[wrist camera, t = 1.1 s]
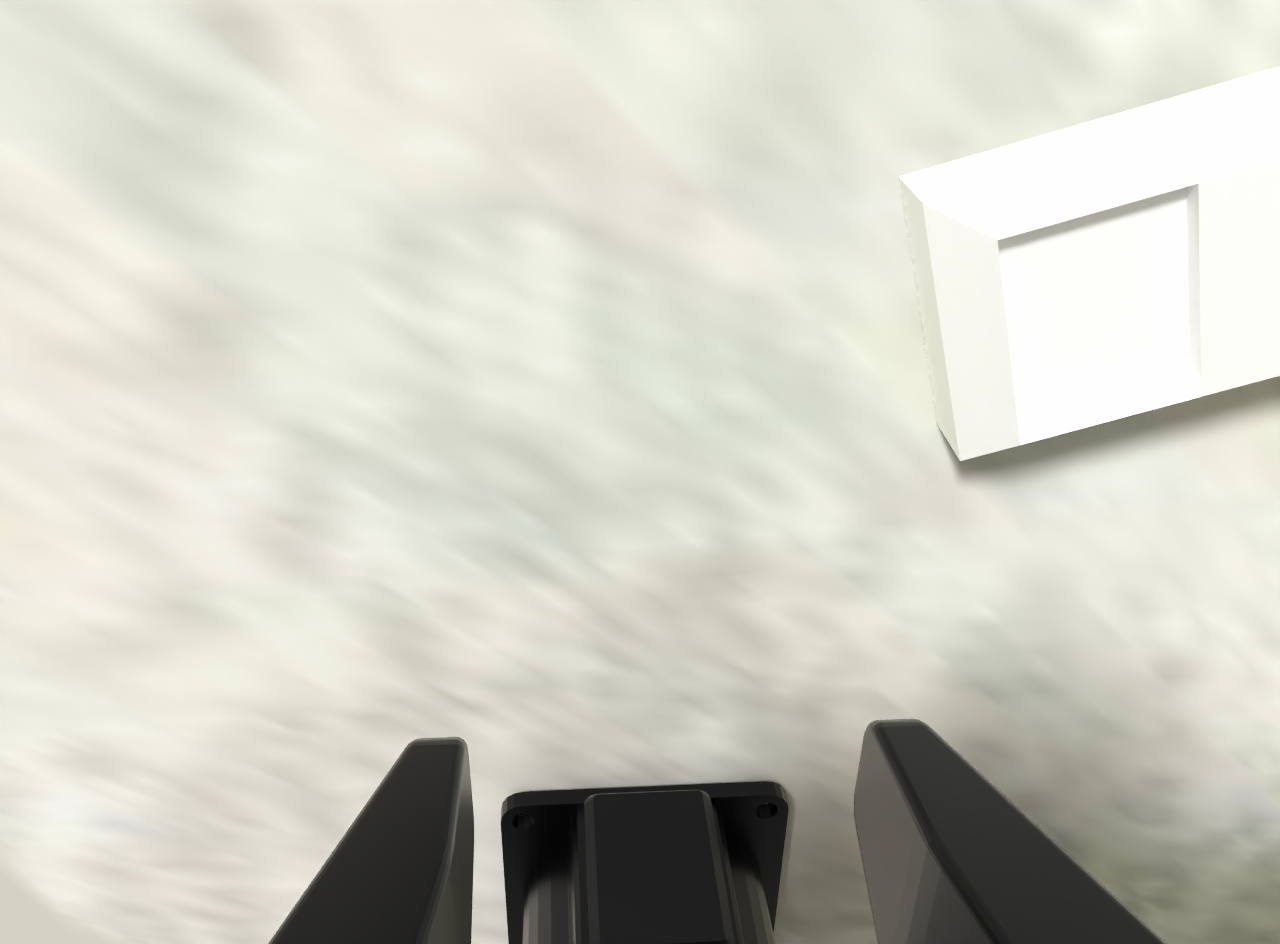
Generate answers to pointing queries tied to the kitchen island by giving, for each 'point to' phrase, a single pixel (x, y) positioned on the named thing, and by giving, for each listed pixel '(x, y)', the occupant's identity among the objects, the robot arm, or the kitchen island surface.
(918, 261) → the soap bar
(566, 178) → the kitchen island surface
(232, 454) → the kitchen island surface
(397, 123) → the kitchen island surface
